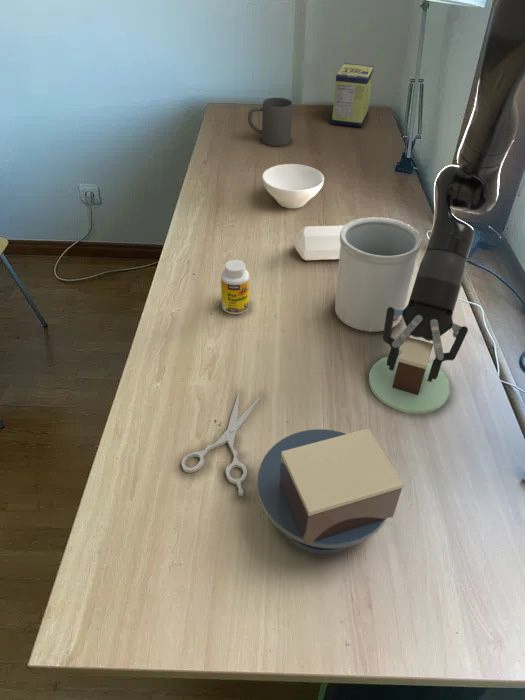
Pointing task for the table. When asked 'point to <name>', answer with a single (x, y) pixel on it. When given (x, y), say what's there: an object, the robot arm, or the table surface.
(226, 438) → the scissors
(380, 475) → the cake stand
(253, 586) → the table surface
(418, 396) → the plate
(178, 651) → the table surface
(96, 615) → the table surface
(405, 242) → the utensil holder
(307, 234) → the crystal
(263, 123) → the mug
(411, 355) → the cake slice
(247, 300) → the supplement bottle
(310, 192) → the bowl
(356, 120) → the protein box
